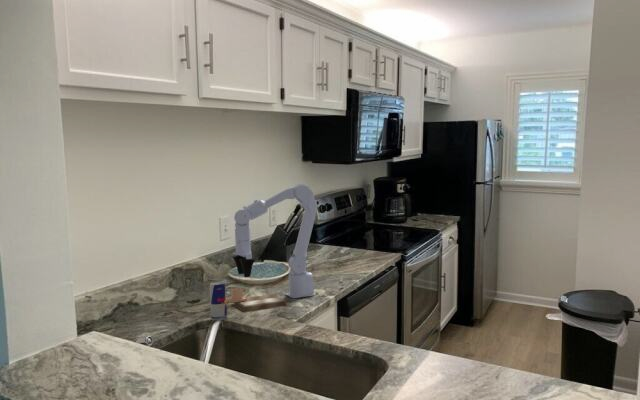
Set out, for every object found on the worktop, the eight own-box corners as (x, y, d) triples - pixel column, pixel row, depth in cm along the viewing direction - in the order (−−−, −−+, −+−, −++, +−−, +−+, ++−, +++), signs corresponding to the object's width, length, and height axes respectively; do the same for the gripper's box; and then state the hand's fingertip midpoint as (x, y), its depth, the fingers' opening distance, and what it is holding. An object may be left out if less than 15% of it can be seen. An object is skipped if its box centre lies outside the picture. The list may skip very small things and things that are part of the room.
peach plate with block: (242, 298, 185) (242, 286, 185) (246, 300, 181) (246, 289, 181) (227, 300, 183) (226, 288, 183) (231, 303, 178) (230, 291, 178)
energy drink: (223, 321, 161) (221, 284, 161) (208, 320, 162) (206, 284, 162) (229, 316, 166) (228, 281, 166) (214, 316, 167) (213, 281, 167)
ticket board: (273, 297, 192) (272, 293, 192) (286, 305, 179) (286, 300, 179) (233, 303, 185) (232, 298, 185) (244, 311, 172) (243, 306, 172)
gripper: (227, 239, 195) (229, 273, 195) (238, 243, 182) (239, 279, 182) (244, 238, 198) (246, 271, 199) (256, 241, 185) (257, 277, 186)
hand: (244, 275), depth 191 cm, fingers open, 7 cm apart
